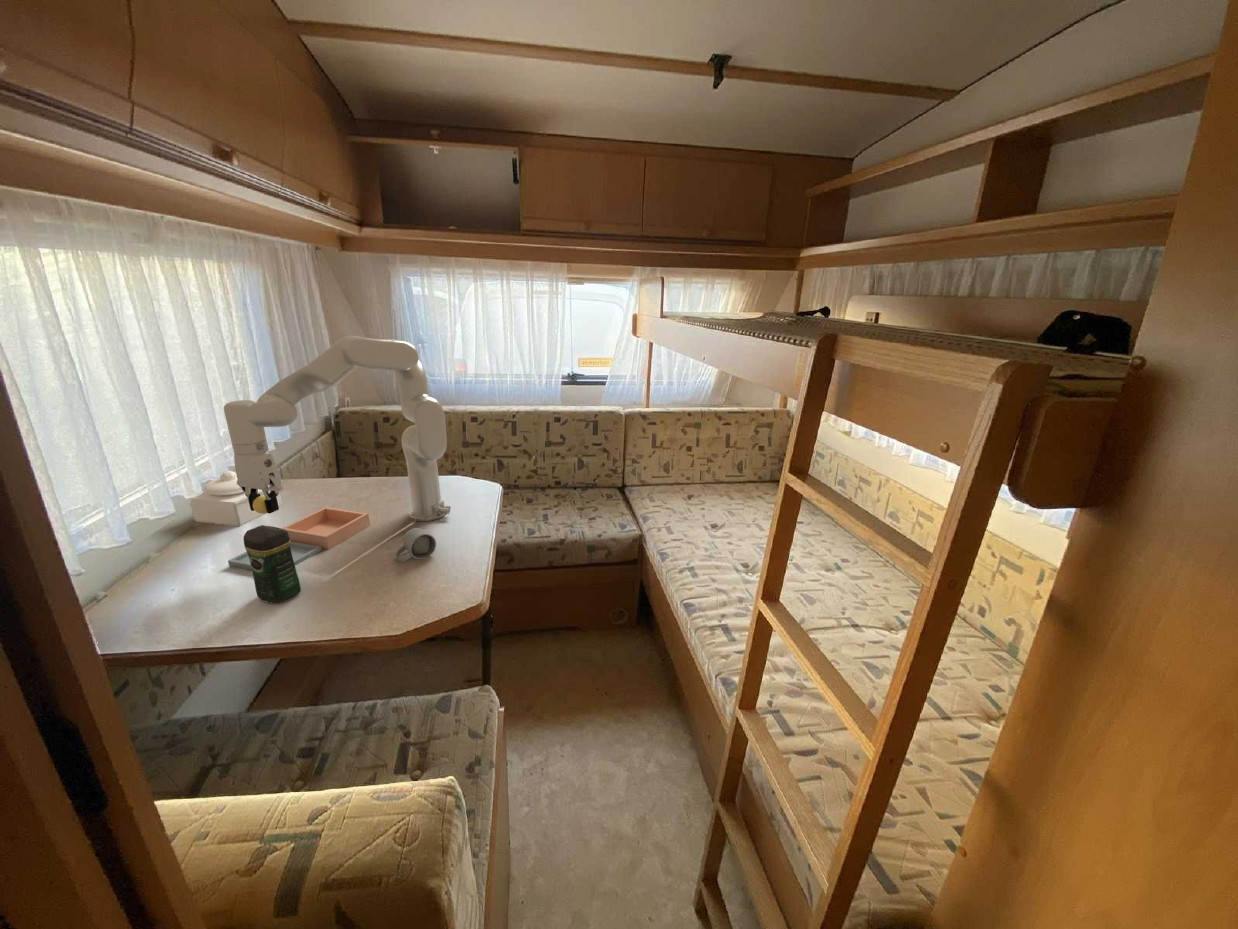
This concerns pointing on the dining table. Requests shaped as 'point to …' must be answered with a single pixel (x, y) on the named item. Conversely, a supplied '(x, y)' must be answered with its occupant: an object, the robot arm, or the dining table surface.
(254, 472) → the robot arm
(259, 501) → the ochre ball
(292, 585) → the coffee jar
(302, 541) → the terracotta dish
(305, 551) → the grey tray
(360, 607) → the dining table surface
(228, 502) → the white box with knob
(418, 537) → the ceramic mug
